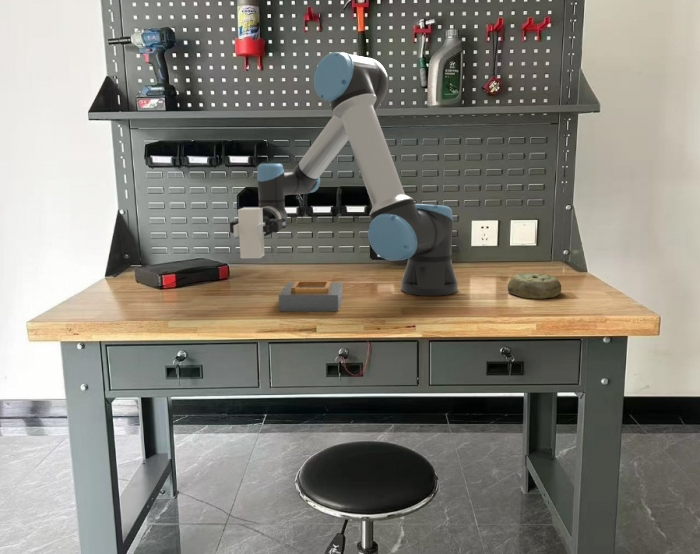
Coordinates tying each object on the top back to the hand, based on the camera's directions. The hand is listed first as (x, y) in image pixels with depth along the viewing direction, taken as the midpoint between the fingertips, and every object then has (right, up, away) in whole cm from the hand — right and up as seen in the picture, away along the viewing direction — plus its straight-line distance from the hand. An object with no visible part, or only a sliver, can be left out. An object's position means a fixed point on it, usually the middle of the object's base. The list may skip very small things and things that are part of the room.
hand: (247, 231), depth 144 cm
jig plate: (+15, -18, +4) cm, 24 cm away
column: (0, -6, +6) cm, 9 cm away
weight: (+73, -16, +13) cm, 76 cm away
